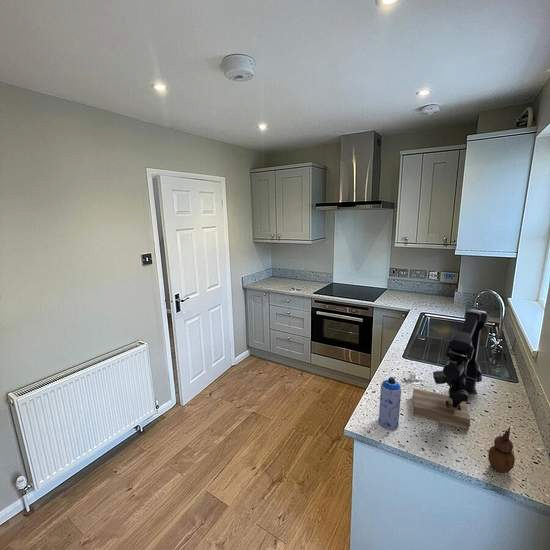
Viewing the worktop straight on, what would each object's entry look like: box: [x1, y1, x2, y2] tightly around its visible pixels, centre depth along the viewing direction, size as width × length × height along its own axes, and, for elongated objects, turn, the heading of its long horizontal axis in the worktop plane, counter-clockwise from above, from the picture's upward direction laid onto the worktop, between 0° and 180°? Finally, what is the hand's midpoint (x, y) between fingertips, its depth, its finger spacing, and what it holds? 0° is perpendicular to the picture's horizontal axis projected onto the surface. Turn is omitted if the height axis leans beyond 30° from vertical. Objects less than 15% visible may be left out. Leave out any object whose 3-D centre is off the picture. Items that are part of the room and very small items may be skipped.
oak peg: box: [448, 398, 459, 410], centre depth 122 cm, size 4×4×9 cm
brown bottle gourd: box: [487, 427, 516, 474], centre depth 96 cm, size 7×6×15 cm
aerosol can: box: [377, 376, 402, 431], centre depth 117 cm, size 8×8×20 cm
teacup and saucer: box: [406, 371, 424, 385], centre depth 149 cm, size 9×8×4 cm
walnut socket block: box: [412, 387, 471, 430], centre depth 125 cm, size 14×20×4 cm
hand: (453, 403), depth 122 cm, fingers open, 5 cm apart
